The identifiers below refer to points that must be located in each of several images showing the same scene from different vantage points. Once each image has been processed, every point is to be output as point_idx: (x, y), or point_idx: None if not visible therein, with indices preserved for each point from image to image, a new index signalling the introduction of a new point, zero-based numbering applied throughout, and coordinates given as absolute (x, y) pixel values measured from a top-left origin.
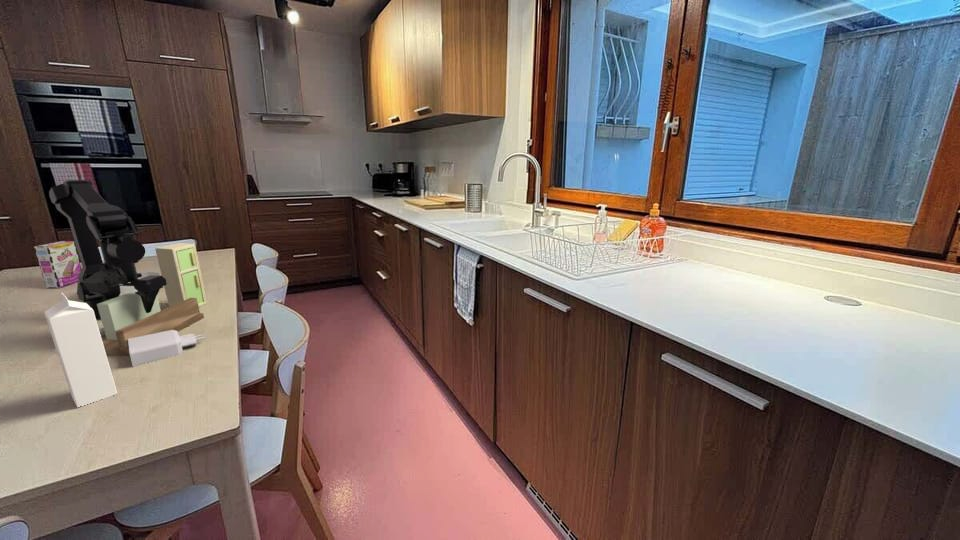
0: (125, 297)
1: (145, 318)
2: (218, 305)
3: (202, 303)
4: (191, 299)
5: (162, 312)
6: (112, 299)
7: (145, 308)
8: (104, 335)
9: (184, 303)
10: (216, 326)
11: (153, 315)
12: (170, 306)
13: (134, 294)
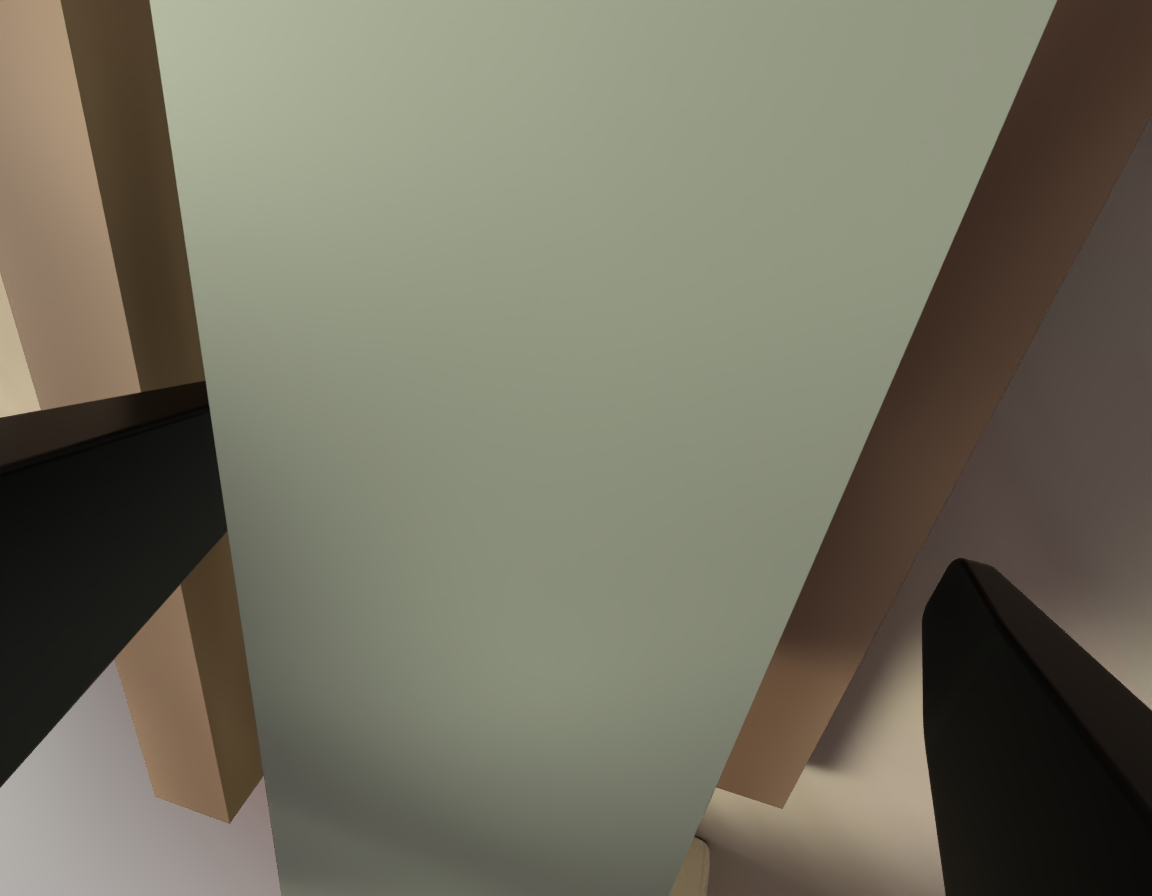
0: (295, 644)
1: (28, 36)
2: None
3: None
4: (164, 768)
5: (52, 354)
6: (666, 521)
7: (184, 398)
8: (1038, 147)
9: (117, 662)
10: (3, 367)
11: (49, 213)
12: (688, 884)
13: (287, 844)
